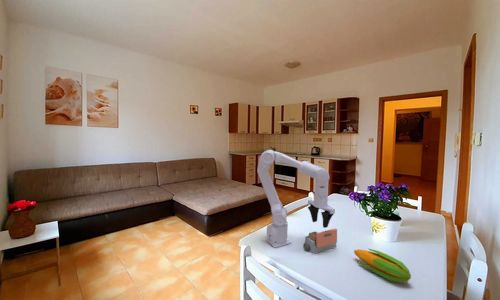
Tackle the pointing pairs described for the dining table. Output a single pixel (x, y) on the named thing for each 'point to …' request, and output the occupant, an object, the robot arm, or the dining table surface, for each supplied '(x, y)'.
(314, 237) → the block
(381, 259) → the corn
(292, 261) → the dining table surface
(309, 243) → the grey boxy piece
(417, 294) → the dining table surface
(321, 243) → the thick rectangular slab
